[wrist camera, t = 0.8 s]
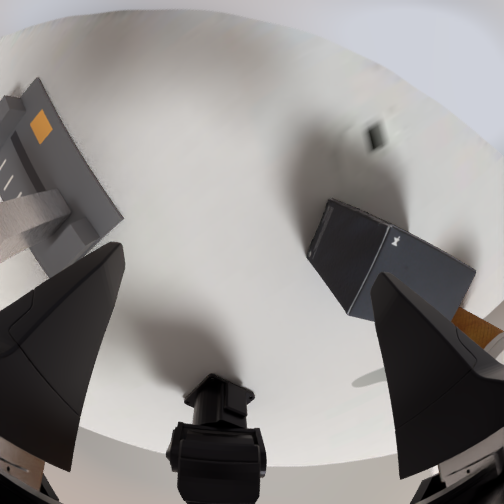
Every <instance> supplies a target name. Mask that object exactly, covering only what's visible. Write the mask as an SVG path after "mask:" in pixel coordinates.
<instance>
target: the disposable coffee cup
mask: <svg viewBox="0 0 504 504" xmlns="http://www.w3.org/2000/svg"><path fill="white" fill-rule="evenodd" d="M451 322H452V323H453V324H454V325H455V326H456V327H458V328H459V329H460V330H461V331H462V332H463V333H465V334H466V335H467V336H468V337H469V338H470V339H472V340H473V341H474V342H475V343H476V344H478V345H479V346H480V347H481V348H482V349H484V350H485V351H486V352H487V353H489V354H490V355H491V356H492V357H493V358H495V359H496V360H497V361H498V362H500V363H501V364H503V365H504V331H503V330H501V329H499V328H497V327H495V326H494V325H492V324H490V323H488V322H486V321H484V320H483V319H481V318H479V317H477V316H475V315H473V314H472V313H470V312H468V311H466V310H464V309H462V308H460V307H459V308H458V309H457V311H456V313H455V315H454V317H453V319H452V320H451Z"/></svg>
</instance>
